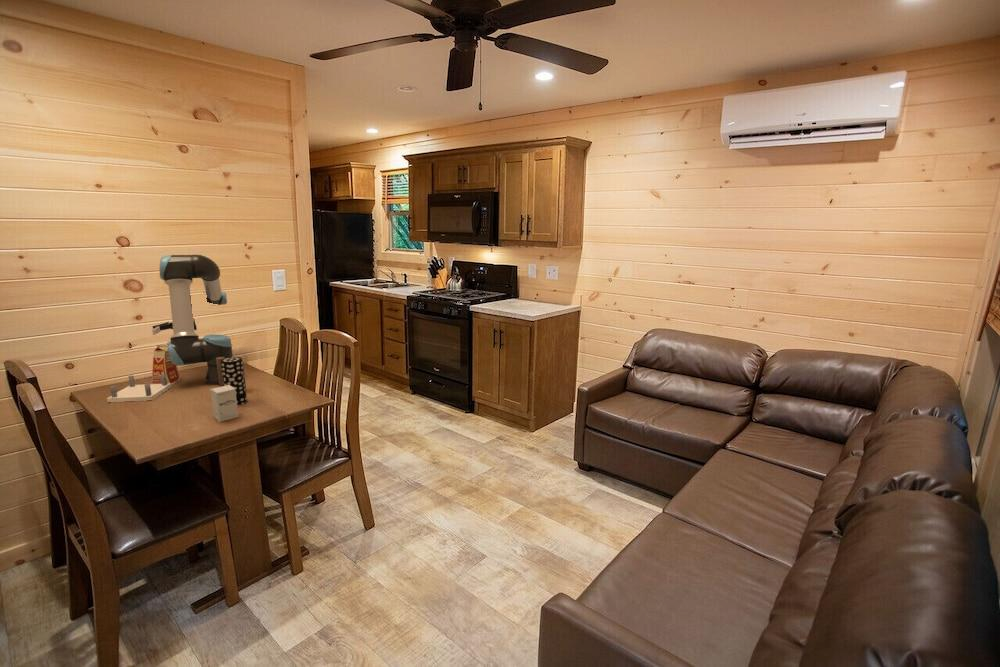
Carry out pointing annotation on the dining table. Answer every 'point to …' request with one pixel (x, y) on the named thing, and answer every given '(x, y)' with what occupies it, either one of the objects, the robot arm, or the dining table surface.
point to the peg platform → (139, 391)
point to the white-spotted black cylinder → (234, 377)
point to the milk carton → (163, 366)
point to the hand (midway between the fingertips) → (168, 332)
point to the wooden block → (221, 371)
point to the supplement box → (224, 403)
